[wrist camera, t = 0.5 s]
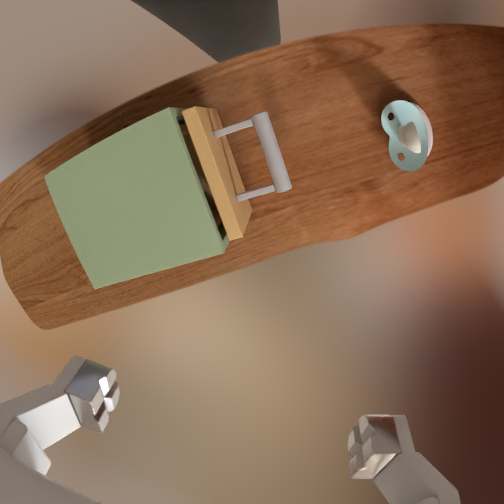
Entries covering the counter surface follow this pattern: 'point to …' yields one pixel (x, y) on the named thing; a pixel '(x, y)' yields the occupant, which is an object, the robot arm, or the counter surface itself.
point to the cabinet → (136, 203)
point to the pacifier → (407, 134)
